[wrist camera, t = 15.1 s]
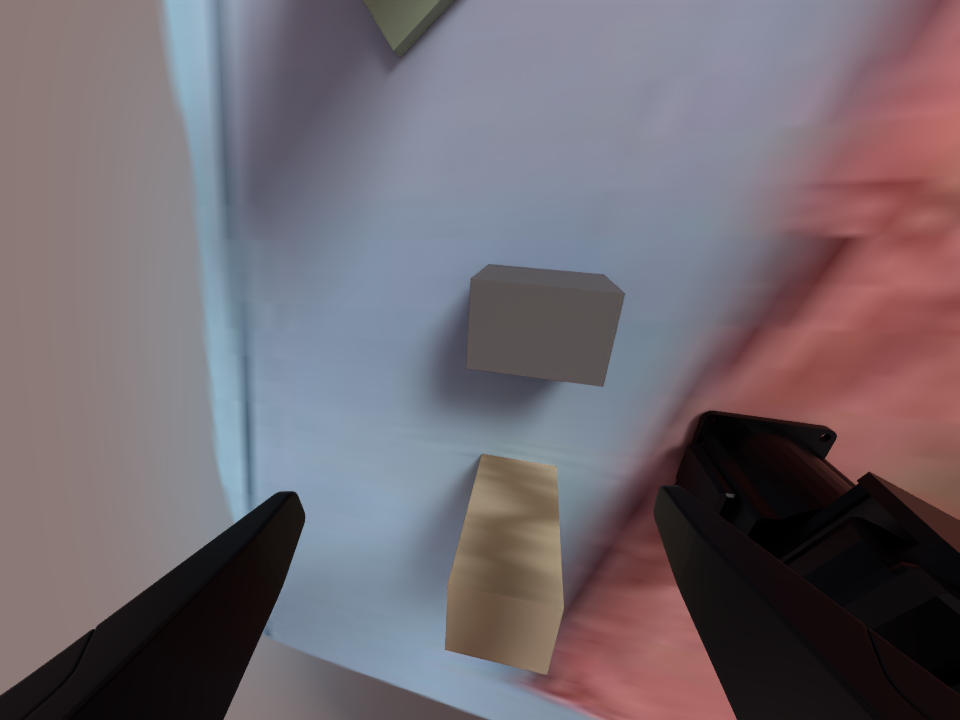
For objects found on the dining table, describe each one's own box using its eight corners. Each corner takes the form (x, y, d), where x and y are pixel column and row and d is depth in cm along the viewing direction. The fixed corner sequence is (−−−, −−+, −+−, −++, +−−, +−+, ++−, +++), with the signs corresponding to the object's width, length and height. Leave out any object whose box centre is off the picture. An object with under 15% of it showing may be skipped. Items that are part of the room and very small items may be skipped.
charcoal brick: (603, 274, 17) (624, 293, 13) (588, 346, 19) (603, 386, 14) (488, 263, 18) (470, 278, 14) (483, 334, 20) (466, 368, 15)
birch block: (556, 466, 22) (563, 608, 14) (545, 521, 24) (547, 675, 16) (481, 453, 23) (447, 583, 15) (477, 508, 25) (445, 649, 17)
